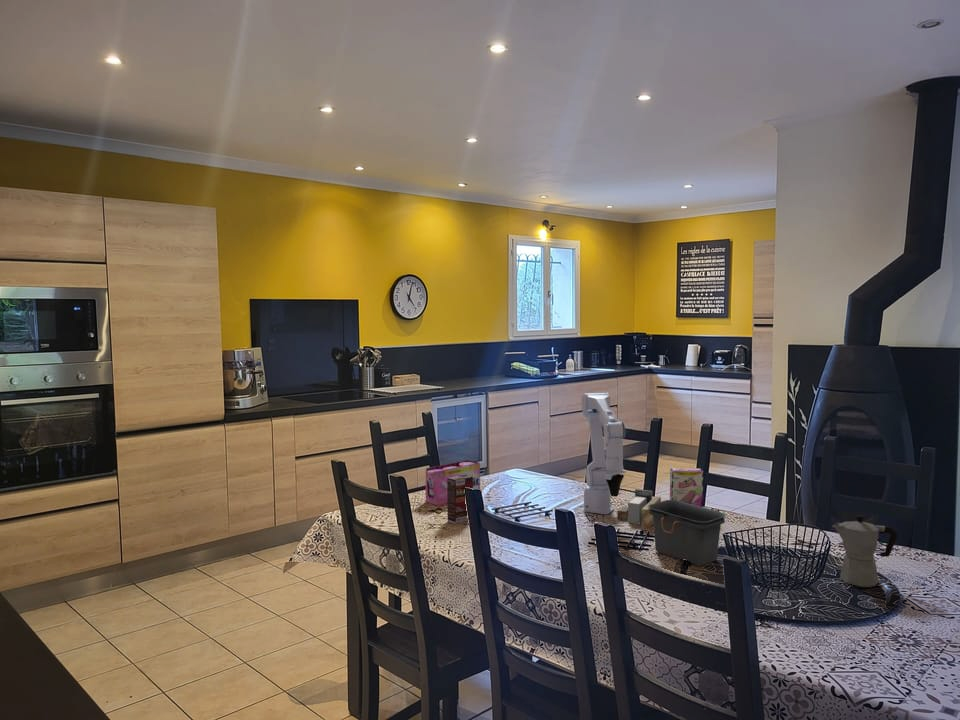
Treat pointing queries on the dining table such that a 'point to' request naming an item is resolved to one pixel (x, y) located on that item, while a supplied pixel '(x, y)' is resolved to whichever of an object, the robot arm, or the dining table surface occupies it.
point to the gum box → (439, 475)
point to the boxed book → (636, 509)
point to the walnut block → (622, 513)
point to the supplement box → (457, 498)
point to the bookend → (644, 494)
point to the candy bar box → (687, 485)
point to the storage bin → (686, 531)
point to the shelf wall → (648, 514)
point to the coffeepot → (862, 550)
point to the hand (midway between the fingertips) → (614, 495)
